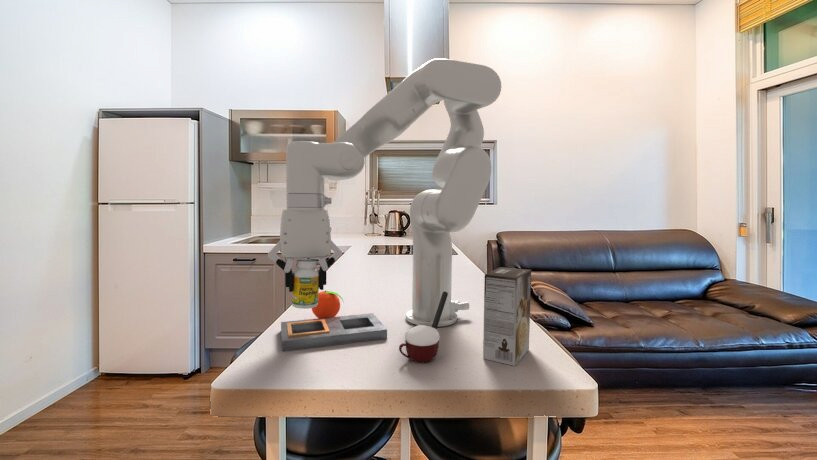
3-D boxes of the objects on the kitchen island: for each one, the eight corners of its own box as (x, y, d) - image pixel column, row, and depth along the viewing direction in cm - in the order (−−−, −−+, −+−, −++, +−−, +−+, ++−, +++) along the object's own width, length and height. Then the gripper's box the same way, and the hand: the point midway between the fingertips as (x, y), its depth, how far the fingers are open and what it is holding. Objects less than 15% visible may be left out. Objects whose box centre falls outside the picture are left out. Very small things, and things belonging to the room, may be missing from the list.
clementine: (348, 316, 96) (348, 288, 95) (338, 324, 89) (338, 295, 88) (318, 314, 97) (318, 286, 96) (306, 322, 90) (306, 293, 90)
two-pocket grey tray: (373, 321, 92) (373, 311, 91) (387, 338, 80) (387, 328, 80) (281, 330, 84) (280, 320, 84) (282, 351, 73) (282, 339, 73)
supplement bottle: (312, 301, 84) (315, 258, 83) (321, 307, 79) (324, 262, 79) (288, 303, 81) (290, 258, 80) (295, 310, 76) (298, 262, 76)
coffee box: (498, 343, 78) (500, 266, 77) (529, 350, 75) (532, 269, 74) (481, 359, 70) (483, 273, 69) (516, 367, 67) (519, 277, 66)
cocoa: (399, 367, 68) (396, 302, 66) (399, 352, 74) (397, 292, 72) (452, 365, 68) (451, 300, 66) (448, 350, 74) (447, 290, 72)
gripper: (344, 203, 85) (343, 283, 86) (261, 202, 79) (262, 288, 80) (350, 203, 78) (350, 291, 79) (260, 202, 72) (261, 296, 73)
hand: (306, 288), depth 80 cm, fingers closed on supplement bottle, 5 cm apart
